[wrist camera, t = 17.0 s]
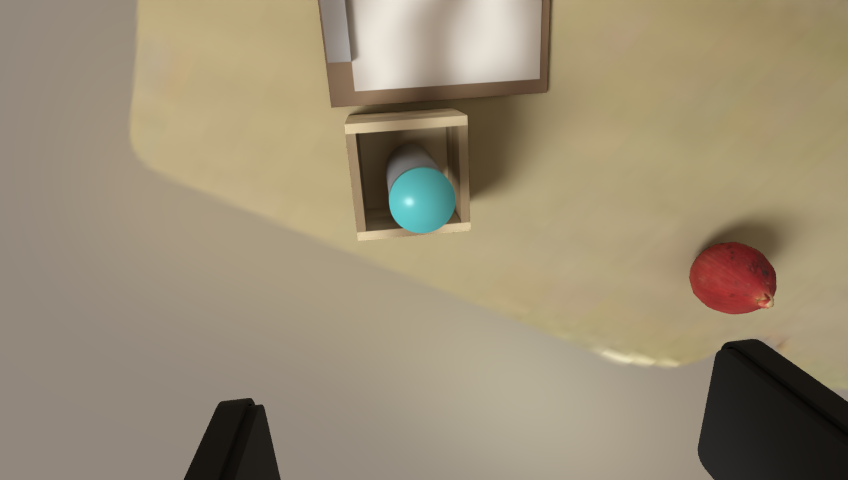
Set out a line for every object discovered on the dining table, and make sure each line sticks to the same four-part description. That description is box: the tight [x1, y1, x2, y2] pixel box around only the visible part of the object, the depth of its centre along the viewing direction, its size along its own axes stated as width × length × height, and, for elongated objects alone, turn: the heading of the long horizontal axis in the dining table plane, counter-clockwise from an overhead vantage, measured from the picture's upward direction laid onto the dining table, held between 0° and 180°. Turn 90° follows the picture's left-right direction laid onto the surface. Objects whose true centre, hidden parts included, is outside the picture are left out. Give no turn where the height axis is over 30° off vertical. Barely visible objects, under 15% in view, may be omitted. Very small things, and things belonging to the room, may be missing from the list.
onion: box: [689, 242, 776, 314], centre depth 38 cm, size 6×6×8 cm
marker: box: [385, 144, 456, 233], centre depth 31 cm, size 4×4×10 cm
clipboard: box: [318, 0, 550, 108], centre depth 32 cm, size 16×12×1 cm
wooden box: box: [344, 108, 470, 241], centre depth 33 cm, size 8×8×6 cm
